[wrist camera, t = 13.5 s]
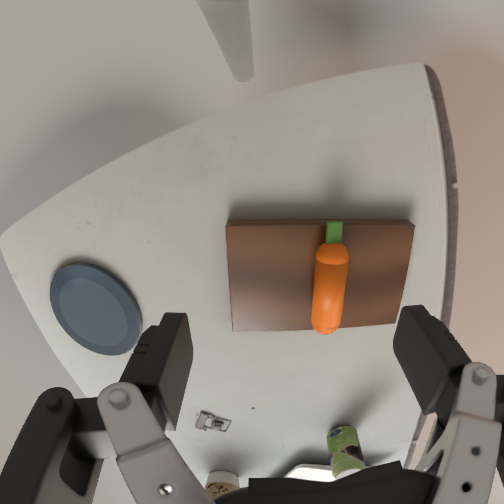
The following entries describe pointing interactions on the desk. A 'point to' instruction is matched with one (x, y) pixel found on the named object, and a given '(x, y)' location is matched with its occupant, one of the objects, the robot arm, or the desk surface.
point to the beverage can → (344, 452)
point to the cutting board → (303, 269)
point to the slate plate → (95, 309)
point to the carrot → (329, 280)
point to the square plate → (313, 472)
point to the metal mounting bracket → (215, 424)
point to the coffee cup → (221, 483)
